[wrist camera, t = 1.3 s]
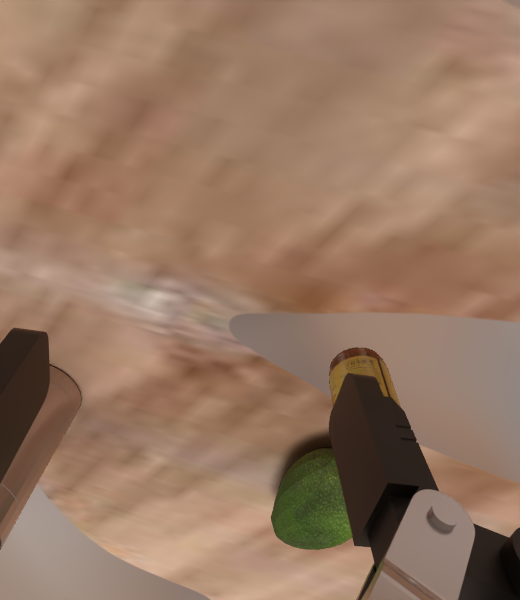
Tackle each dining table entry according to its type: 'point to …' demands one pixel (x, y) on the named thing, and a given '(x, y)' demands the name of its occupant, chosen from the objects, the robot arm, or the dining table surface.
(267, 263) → the dining table surface
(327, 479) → the fruit
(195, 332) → the dining table surface
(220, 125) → the dining table surface
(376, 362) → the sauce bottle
